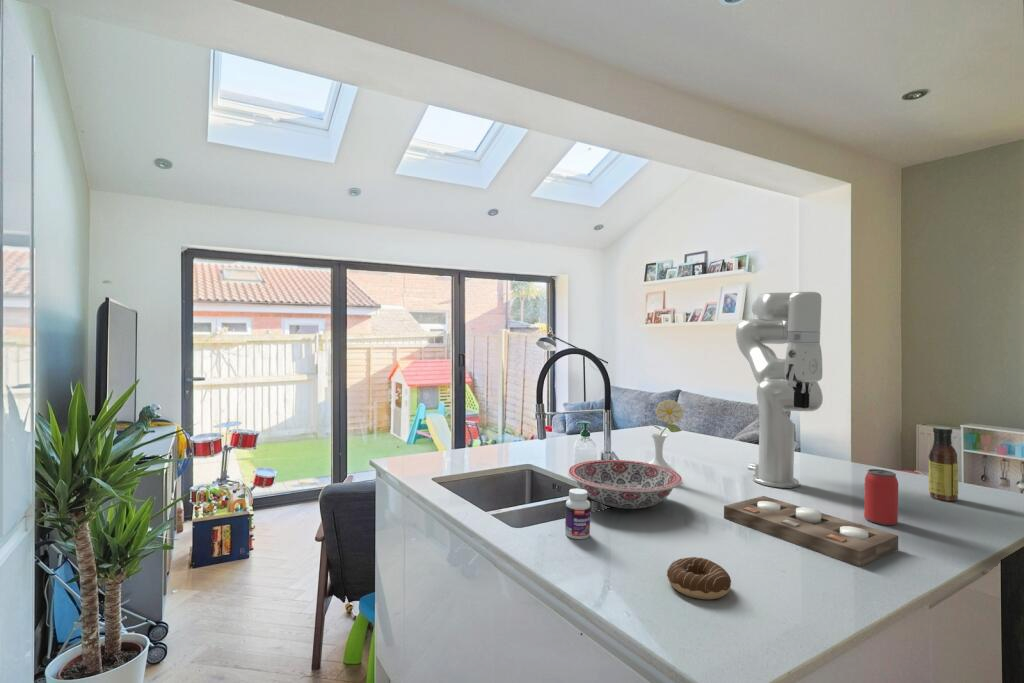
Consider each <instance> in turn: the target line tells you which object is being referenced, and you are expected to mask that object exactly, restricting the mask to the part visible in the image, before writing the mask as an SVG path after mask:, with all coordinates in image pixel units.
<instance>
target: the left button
mask: <svg viewBox="0 0 1024 683" xmlns="http://www.w3.org/2000/svg"><path fill="white" fill-rule="evenodd" d="M757 507H759V508H763V509H766V510H769V511H772V512H775V511H778V510H780V505H779V504H777V503H774V502H769V501H759V502H757Z"/></svg>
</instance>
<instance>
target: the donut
mask: <svg viewBox="0 0 1024 683" xmlns="http://www.w3.org/2000/svg"><path fill="white" fill-rule="evenodd" d="M666 571H667V572H666V577H667V580H668V582H669V584H670V585H671V587H672V588H674V589H675V591H677V592H679V593H680V594H683V595H685V596H687V597H690V598H694V599H698V600H717V599H720V598H723V597H725V595H727V594H728V593H729V591H730V589H731V585H732V579H731V576H730V574H729V573H728V572H727V571H726V569H725V568H723V567H722V566H721V565H719V564H718V563H716V562H715V561H712V560H710V559H708V558H705V557H704V558H703V557H697V556H691V557H683V558H679V559H676V560H674V561H672V562H671V564H670V565H669V566H668V568H667V570H666Z"/></svg>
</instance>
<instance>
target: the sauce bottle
mask: <svg viewBox="0 0 1024 683" xmlns="http://www.w3.org/2000/svg"><path fill="white" fill-rule="evenodd" d="M932 429H933V430H932V433H933V444H932V447H931V450H930V452H929V454H928V491H929V495H930V497H931V498H933V499H936V500H939V501H943V500H945V501H946V502H956V501H958V499H959V466H958V465H959V462H958V453H957V451H956V449H955V448H954V447H953V444H952V443H953V441H952V434H953V428H951V427H948V426H946V427H945V426H934V427H932Z"/></svg>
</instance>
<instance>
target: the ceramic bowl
mask: <svg viewBox="0 0 1024 683" xmlns="http://www.w3.org/2000/svg"><path fill="white" fill-rule="evenodd" d="M675 471H676V470H675ZM675 471H673V470H670V469H668V468H665V467H662V466H658V465H654V464H649V462H642V461H635V460H623V459H622V460H621V459H597V460H589V461H584V462H579V463H575V464H574V465H572V466H570V467H569V469H568V471H567V472H568V476H569V477H570V478H571V479H573V481H576V484H577V485H578V486H579V489H584V490H586V491H587V497H588V498H590V499H592V500H593V501H595V502H597V503H599V504H601V505H604V506H608V507H612V508H619V509H631V510H632V509H644V508H648V507H651V506H655V505H657V504H660V503H661V502H662V501H663V500H665V499H666V498H667V497H668V496H669V495H670V494H671V493H672V491H673V489H675V488H678V487H679V486H680V485H681V484H682V483H683V477H682V475H681V474H679V473H678V472H677V471H676V472H677V473H676V472H675Z"/></svg>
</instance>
